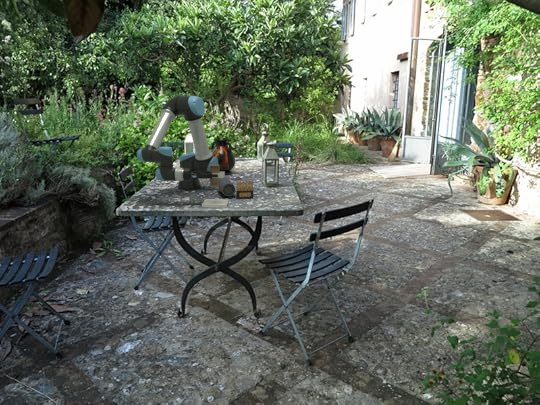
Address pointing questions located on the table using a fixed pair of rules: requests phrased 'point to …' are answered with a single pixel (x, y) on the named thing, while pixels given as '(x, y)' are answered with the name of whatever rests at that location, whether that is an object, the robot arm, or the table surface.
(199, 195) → the table surface
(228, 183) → the bluetooth speaker
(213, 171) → the walnut block
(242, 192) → the ammunition clip
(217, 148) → the amphora vase
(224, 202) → the plate
